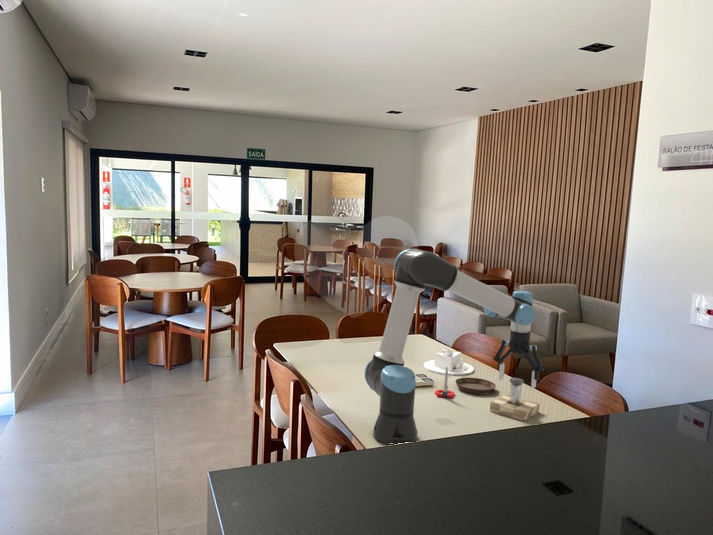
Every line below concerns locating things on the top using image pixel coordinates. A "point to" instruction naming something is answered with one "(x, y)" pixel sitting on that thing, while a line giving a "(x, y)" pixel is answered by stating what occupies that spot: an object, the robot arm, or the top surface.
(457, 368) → the dish
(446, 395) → the tow hook
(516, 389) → the steel pin
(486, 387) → the plant saucer
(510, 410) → the oak hitch block
